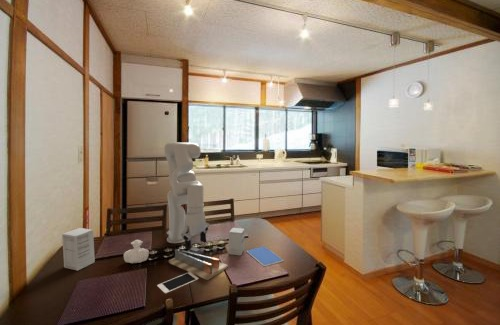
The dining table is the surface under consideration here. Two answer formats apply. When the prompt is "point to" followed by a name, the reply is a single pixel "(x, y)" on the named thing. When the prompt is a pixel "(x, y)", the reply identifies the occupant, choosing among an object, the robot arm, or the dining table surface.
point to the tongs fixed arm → (193, 262)
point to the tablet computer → (264, 256)
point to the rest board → (197, 271)
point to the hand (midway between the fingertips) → (195, 244)
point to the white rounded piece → (136, 253)
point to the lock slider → (194, 250)
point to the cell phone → (177, 282)
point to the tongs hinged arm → (204, 258)
